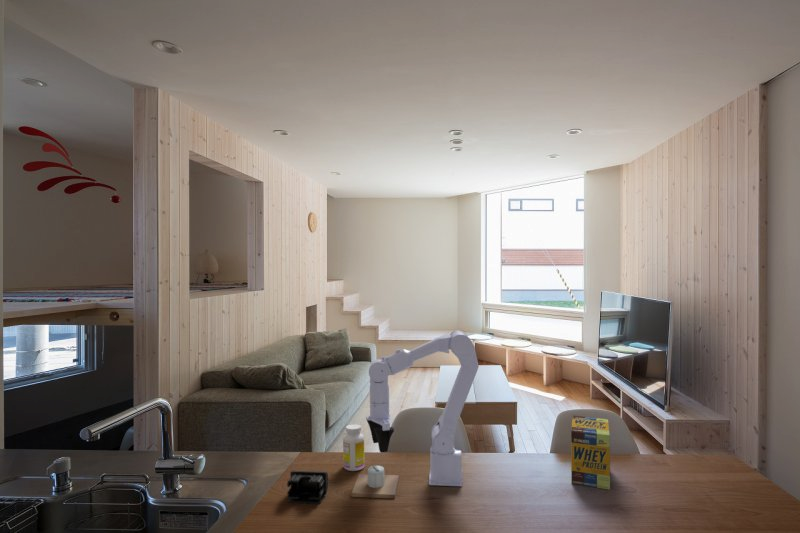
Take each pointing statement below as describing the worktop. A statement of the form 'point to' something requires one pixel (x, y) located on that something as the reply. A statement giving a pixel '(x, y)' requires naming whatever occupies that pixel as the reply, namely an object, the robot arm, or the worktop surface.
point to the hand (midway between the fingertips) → (380, 447)
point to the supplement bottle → (353, 448)
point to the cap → (376, 476)
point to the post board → (381, 492)
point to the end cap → (307, 487)
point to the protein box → (590, 452)
